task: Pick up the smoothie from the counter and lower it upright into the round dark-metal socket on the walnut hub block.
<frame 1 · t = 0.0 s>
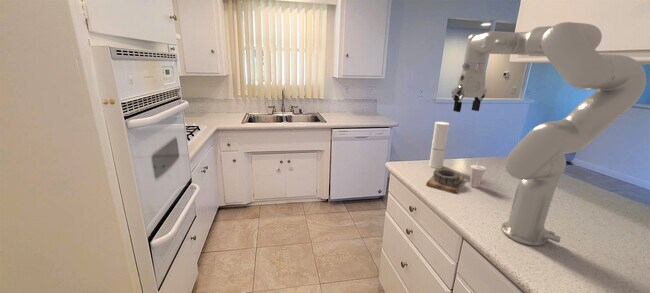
hand: (466, 111, 112), 37 cm above the worktop, tool pointing down, fingers open, 9 cm apart
cylindrical container: (435, 166, 155), on the worktop
smoothie: (474, 186, 131), on the worktop
hub block: (445, 182, 134), on the worktop
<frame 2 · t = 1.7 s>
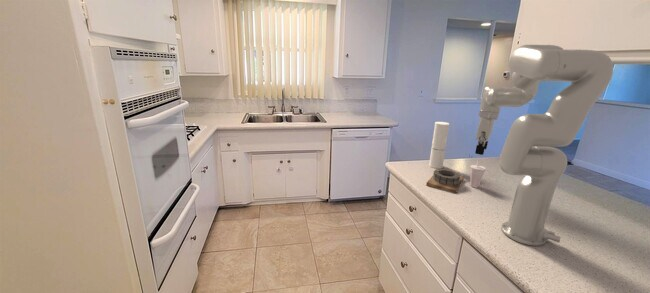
hand: (480, 151, 126), 17 cm above the worktop, tool pointing down, fingers open, 9 cm apart
nothing on the worktop moved.
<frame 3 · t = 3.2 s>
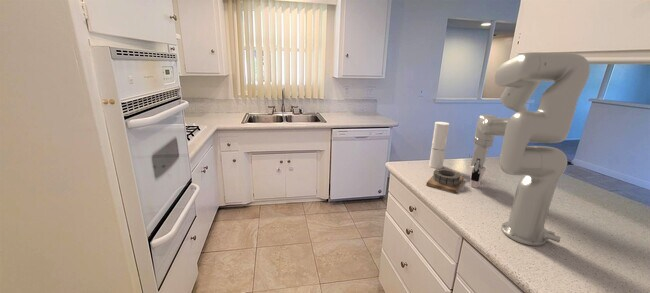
hand: (475, 177, 129), 4 cm above the worktop, tool pointing down, fingers closed on smoothie, 6 cm apart
smoothie: (474, 186, 131), on the worktop, touching gripper
everything else where it was.
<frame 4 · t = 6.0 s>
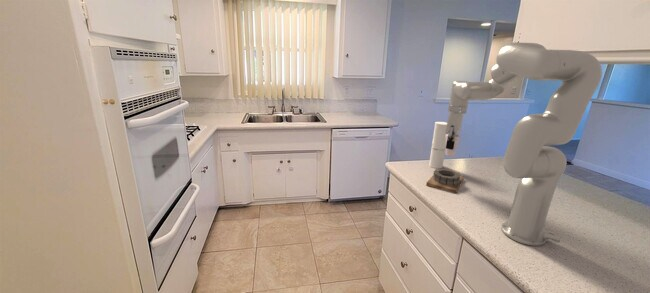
hand: (451, 146, 128), 18 cm above the worktop, tool pointing down, fingers closed on smoothie, 6 cm apart
smoothie: (449, 155, 129), point 14 cm above the worktop, touching gripper
everything else where it was.
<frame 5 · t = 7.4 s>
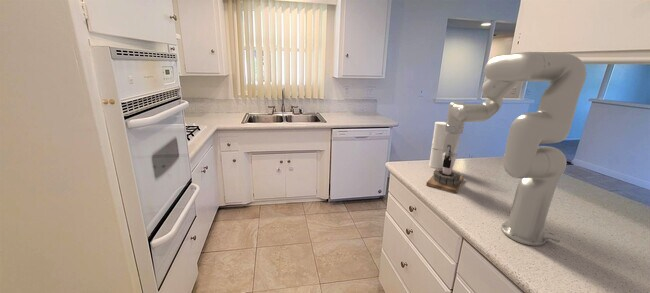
hand: (448, 165, 131), 9 cm above the worktop, tool pointing down, fingers closed on smoothie, 6 cm apart
smoothie: (446, 173, 132), point 5 cm above the worktop, touching gripper
everything else where it was.
when the fingers open (6 cm above the worktop, at t = 8.5 s): smoothie stays where it is, resting on hub block.
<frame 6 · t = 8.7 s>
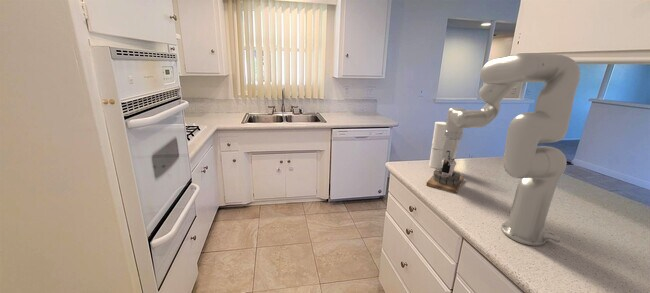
hand: (447, 169, 131), 7 cm above the worktop, tool pointing down, fingers open, 7 cm apart
smoothie: (446, 180, 133), point 1 cm above the worktop, touching hub block
everything else where it was.
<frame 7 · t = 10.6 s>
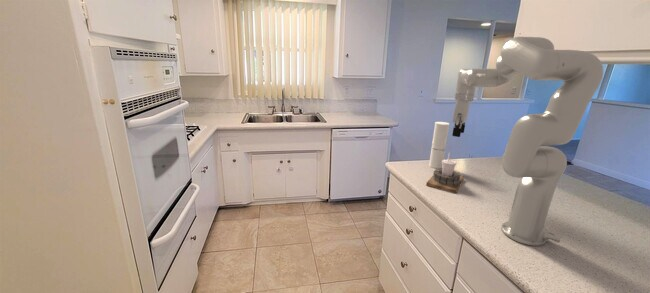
hand: (458, 134, 127), 24 cm above the worktop, tool pointing down, fingers open, 9 cm apart
nothing on the worktop moved.
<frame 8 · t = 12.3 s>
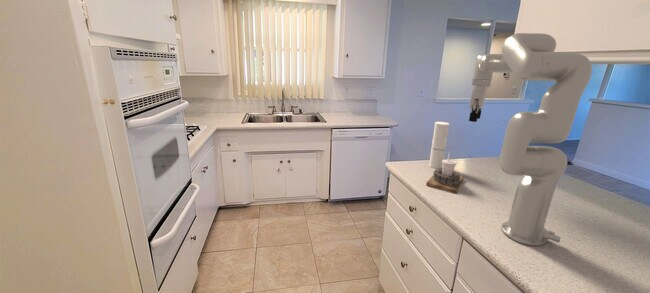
hand: (474, 119, 130), 30 cm above the worktop, tool pointing down, fingers open, 9 cm apart
nothing on the worktop moved.
at the end: smoothie 0.4 cm off-centre on the hub block, point 1.3 cm above the hub block's base; smoothie tilted 0°; the gripper is holding nothing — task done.
